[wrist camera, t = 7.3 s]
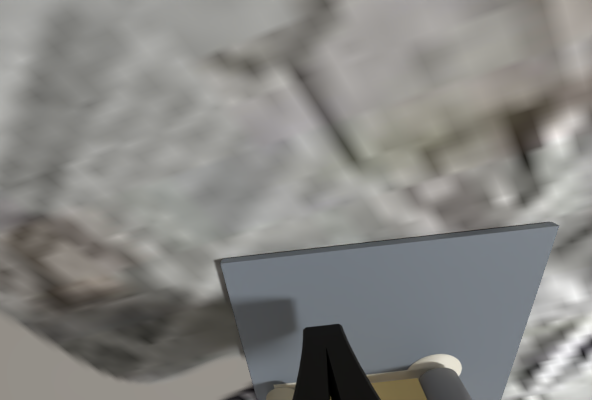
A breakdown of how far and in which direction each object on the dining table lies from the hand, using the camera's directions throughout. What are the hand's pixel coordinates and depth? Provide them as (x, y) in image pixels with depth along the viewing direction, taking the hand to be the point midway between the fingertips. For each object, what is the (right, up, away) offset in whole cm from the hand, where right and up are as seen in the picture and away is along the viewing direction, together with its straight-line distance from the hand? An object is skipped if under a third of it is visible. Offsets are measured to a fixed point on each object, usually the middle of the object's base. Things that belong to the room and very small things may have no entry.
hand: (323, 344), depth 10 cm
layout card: (+3, -3, +4) cm, 6 cm away
